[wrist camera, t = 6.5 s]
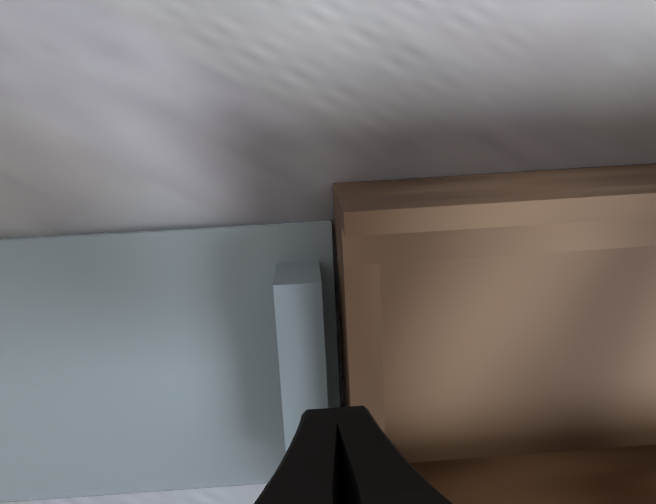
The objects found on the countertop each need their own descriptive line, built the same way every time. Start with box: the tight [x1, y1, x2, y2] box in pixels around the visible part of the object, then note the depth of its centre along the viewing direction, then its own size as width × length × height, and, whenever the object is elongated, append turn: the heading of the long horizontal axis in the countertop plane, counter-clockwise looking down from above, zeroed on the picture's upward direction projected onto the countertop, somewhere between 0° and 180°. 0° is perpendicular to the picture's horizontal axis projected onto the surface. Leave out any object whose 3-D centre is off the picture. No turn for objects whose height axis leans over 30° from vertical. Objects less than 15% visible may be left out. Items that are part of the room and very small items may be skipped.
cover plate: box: [0, 221, 340, 503], centre depth 16 cm, size 15×8×3 cm, turn 93°
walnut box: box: [333, 164, 656, 504], centre depth 15 cm, size 16×10×4 cm, turn 93°
